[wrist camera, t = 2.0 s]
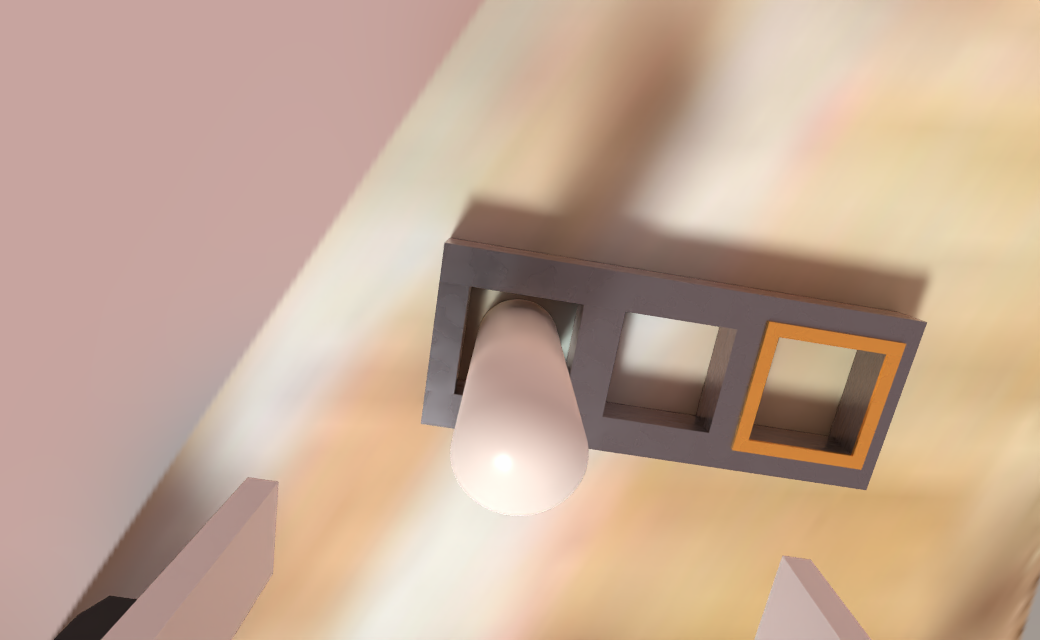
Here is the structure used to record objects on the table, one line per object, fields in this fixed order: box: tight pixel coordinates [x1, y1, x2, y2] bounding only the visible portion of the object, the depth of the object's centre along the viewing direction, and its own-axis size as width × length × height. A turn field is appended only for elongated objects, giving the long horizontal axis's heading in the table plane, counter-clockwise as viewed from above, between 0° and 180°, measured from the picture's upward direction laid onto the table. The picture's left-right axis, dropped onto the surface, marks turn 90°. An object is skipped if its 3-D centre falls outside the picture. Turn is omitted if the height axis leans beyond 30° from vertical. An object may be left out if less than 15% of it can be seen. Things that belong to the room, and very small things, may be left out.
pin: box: [450, 299, 588, 516], centre depth 27 cm, size 5×5×15 cm
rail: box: [421, 238, 927, 490], centre depth 33 cm, size 28×11×3 cm, turn 81°
